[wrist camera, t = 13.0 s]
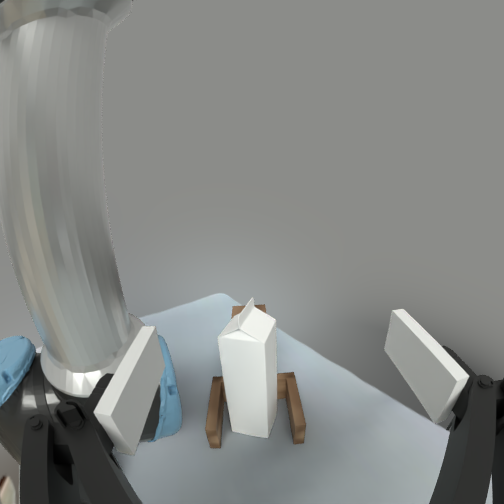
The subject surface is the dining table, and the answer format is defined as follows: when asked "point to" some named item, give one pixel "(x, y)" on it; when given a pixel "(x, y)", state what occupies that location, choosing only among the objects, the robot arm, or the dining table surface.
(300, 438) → the post bracket
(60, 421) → the robot arm
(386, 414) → the dining table surface
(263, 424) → the milk
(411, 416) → the dining table surface
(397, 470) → the dining table surface
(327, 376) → the dining table surface
